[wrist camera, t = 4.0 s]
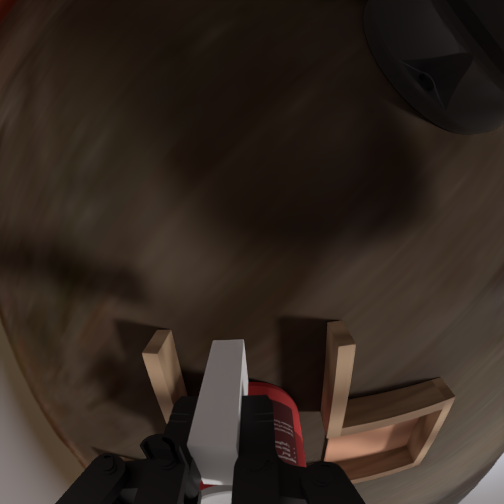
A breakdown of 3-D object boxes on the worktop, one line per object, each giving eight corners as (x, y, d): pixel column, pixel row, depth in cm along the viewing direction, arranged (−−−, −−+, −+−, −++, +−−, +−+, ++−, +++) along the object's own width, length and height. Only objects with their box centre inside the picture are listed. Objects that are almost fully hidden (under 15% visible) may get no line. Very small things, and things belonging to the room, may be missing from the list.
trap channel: (51, 323, 21) (31, 339, 18) (460, 300, 20) (482, 316, 16) (155, 505, 30) (151, 519, 27) (380, 496, 28) (384, 511, 25)
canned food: (242, 442, 24) (235, 531, 13) (196, 395, 22) (168, 496, 12) (311, 418, 23) (328, 514, 12) (272, 365, 21) (279, 481, 11)
